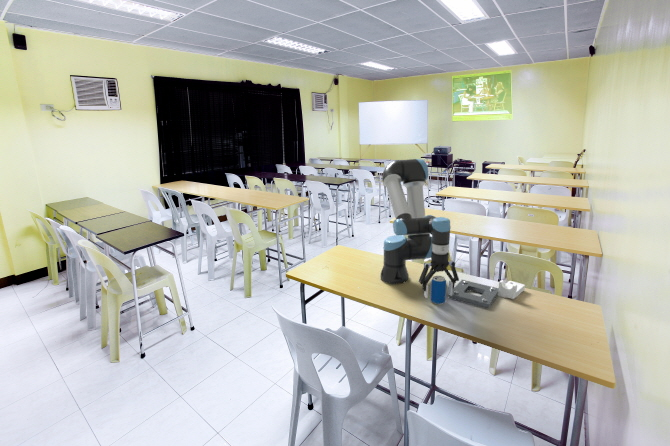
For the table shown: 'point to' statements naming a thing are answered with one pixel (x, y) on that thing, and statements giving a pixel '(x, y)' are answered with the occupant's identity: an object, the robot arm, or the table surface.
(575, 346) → the table surface
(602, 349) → the table surface
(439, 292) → the beverage can
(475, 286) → the grey fixture plate
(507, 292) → the bracket
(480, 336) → the table surface
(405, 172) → the robot arm
